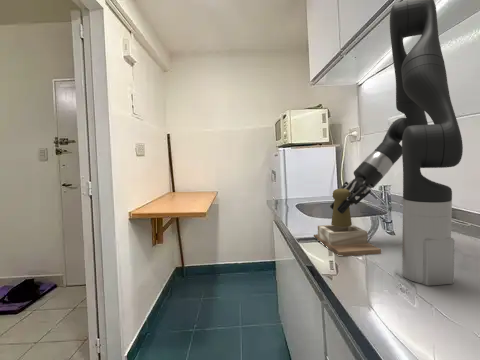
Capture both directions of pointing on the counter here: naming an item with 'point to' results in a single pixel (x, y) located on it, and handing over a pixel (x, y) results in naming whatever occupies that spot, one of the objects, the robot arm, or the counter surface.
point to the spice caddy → (346, 240)
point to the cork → (337, 217)
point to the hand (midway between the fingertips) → (335, 210)
